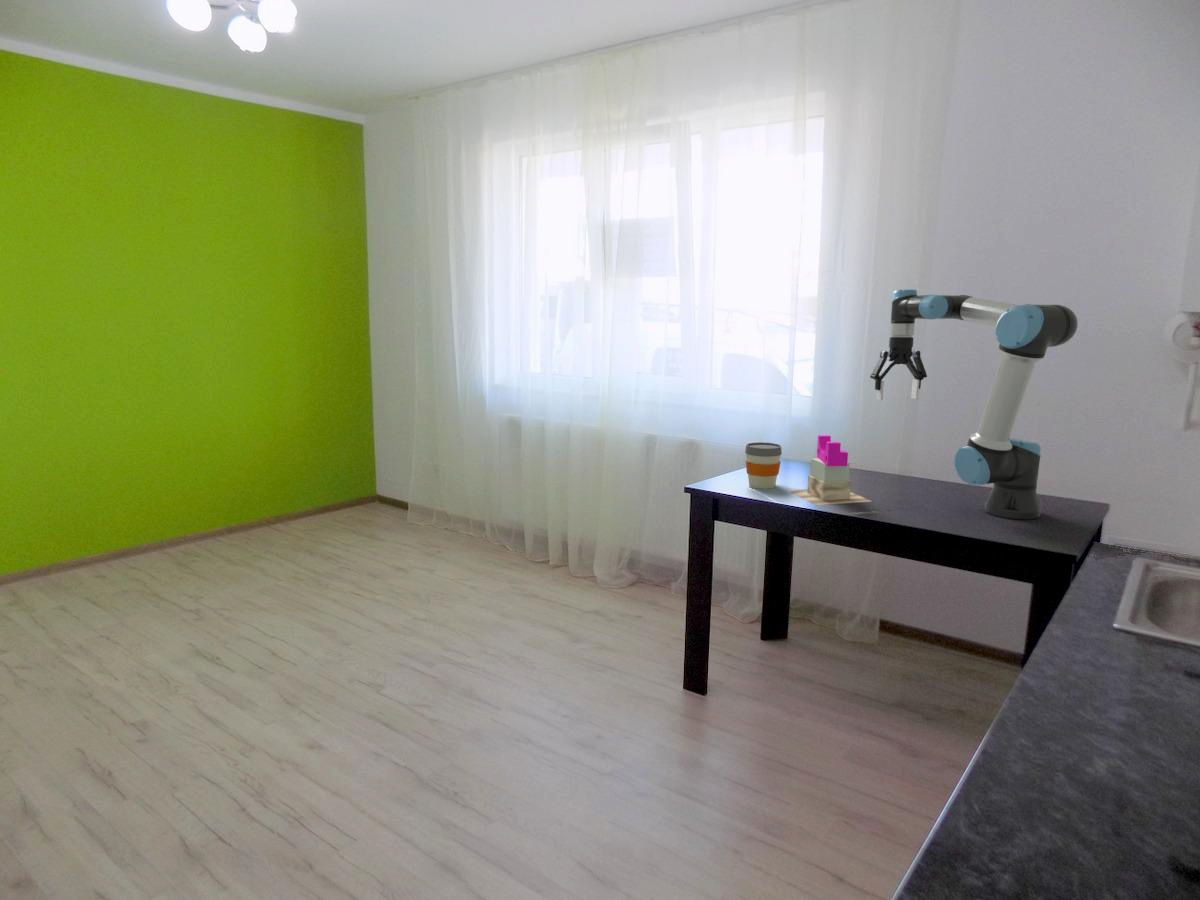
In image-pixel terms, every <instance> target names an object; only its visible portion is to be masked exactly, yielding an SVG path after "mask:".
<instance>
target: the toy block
mask: <svg viewBox="0 0 1200 900" xmlns="http://www.w3.org/2000/svg"><path fill="white" fill-rule="evenodd" d="M831 438H832V437H831V435H829V434H820V435H819V434H818V435H817V444H816V445H817V447H816V458H819V459H820V460H821V461H822V462H823V463H824V464H826V465H827V466H847V462H849V461H848V459H849V452H848V451H847V450H845V449H841V442H840V441H832V440H831Z"/></svg>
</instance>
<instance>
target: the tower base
mask: <svg viewBox="0 0 1200 900" xmlns="http://www.w3.org/2000/svg"><path fill="white" fill-rule="evenodd" d="M851 486H852V480H850V479H849V481H833V482H823V481H821V480H818V479H816V478H814V477H811V476H810V475H808V476H807V489H808V490H807V493H808V494H810V495H813V496H815V497H817V498H819V499H821V500H834V499H849V498H850V492H851V489H852V487H851Z"/></svg>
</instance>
